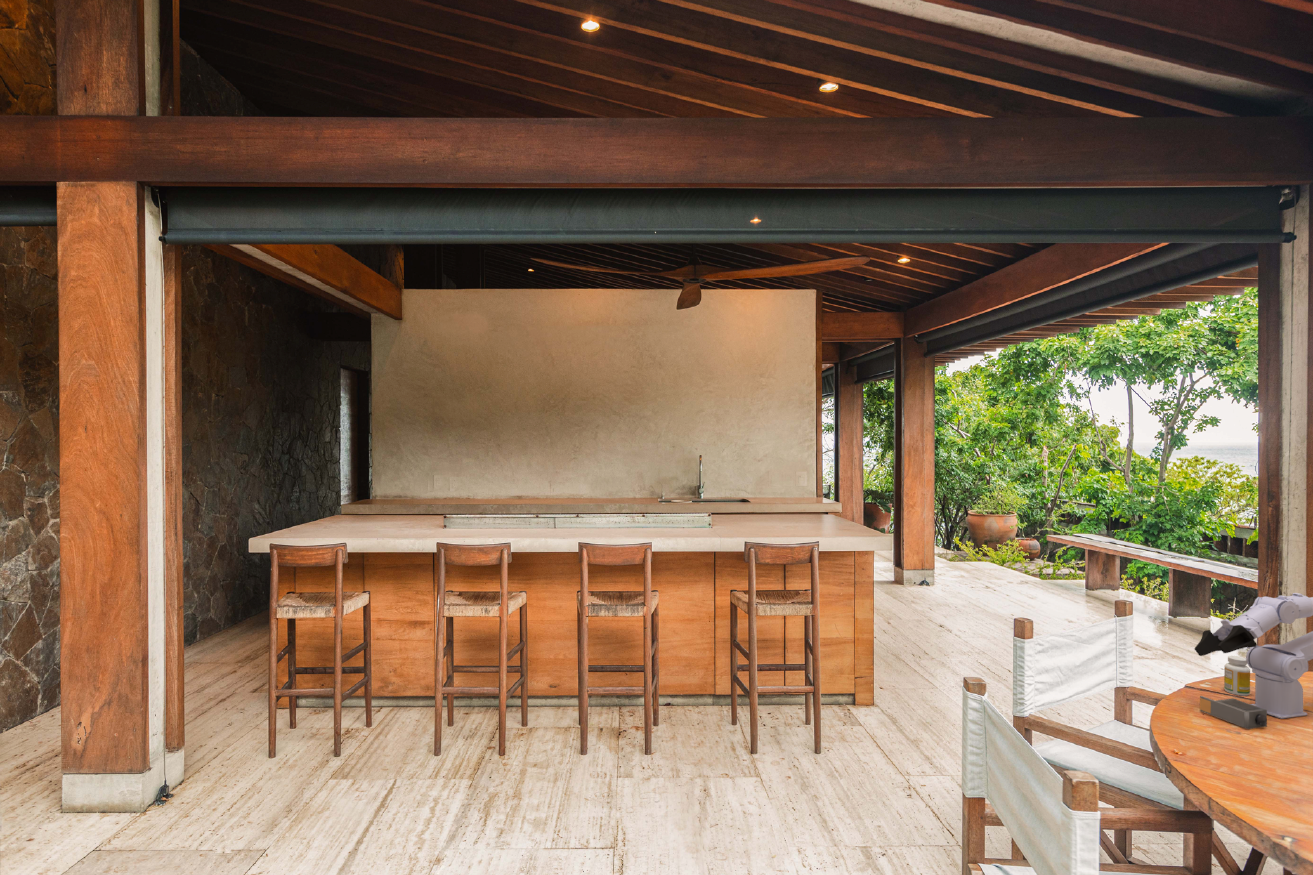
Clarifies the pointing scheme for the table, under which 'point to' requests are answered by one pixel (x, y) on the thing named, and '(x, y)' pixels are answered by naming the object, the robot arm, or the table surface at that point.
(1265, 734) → the table surface
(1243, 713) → the side door
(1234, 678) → the supplement bottle
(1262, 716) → the camera body
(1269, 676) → the robot arm
